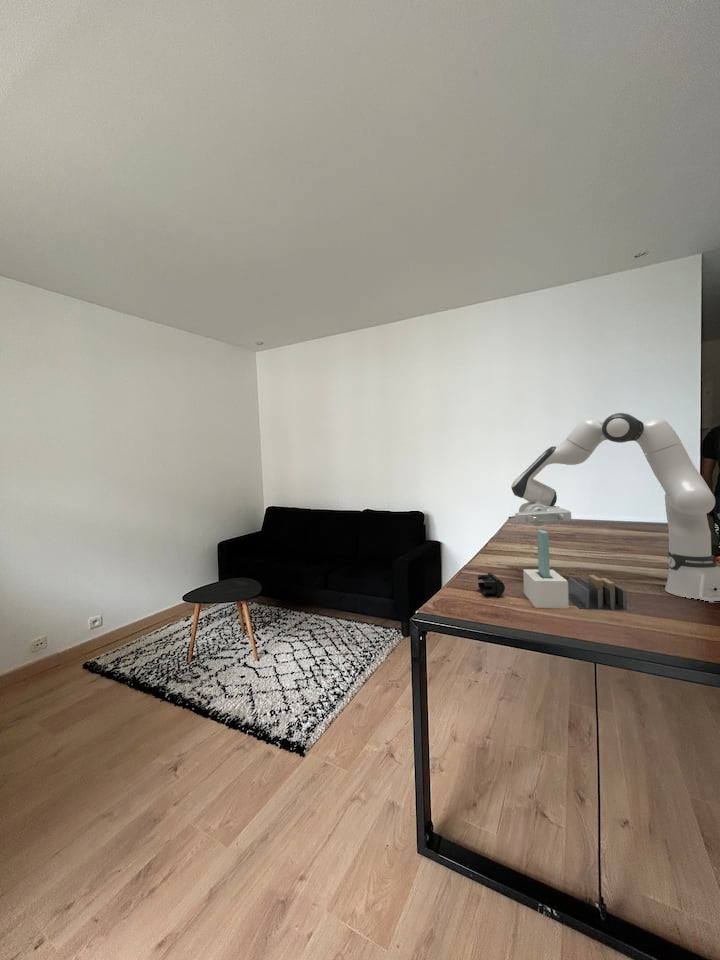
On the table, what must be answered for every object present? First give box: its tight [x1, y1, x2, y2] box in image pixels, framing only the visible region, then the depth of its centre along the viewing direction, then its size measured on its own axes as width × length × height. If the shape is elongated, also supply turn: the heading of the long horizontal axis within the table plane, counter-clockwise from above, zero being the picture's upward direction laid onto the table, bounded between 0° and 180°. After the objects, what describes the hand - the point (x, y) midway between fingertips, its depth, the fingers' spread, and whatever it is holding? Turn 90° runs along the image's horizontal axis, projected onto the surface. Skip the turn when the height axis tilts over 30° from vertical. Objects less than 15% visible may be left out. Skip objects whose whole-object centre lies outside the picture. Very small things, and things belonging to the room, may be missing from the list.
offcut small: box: [600, 577, 616, 605], centre depth 122 cm, size 2×6×7 cm, turn 170°
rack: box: [567, 576, 635, 611], centre depth 122 cm, size 16×15×7 cm
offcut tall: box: [587, 574, 603, 605], centre depth 122 cm, size 2×6×8 cm, turn 170°
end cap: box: [477, 572, 506, 598], centre depth 138 cm, size 10×7×7 cm
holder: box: [522, 569, 570, 609], centre depth 125 cm, size 10×14×10 cm
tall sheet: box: [536, 529, 551, 578], centre depth 125 cm, size 2×6×24 cm, turn 170°
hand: (548, 518), depth 139 cm, fingers open, 8 cm apart
